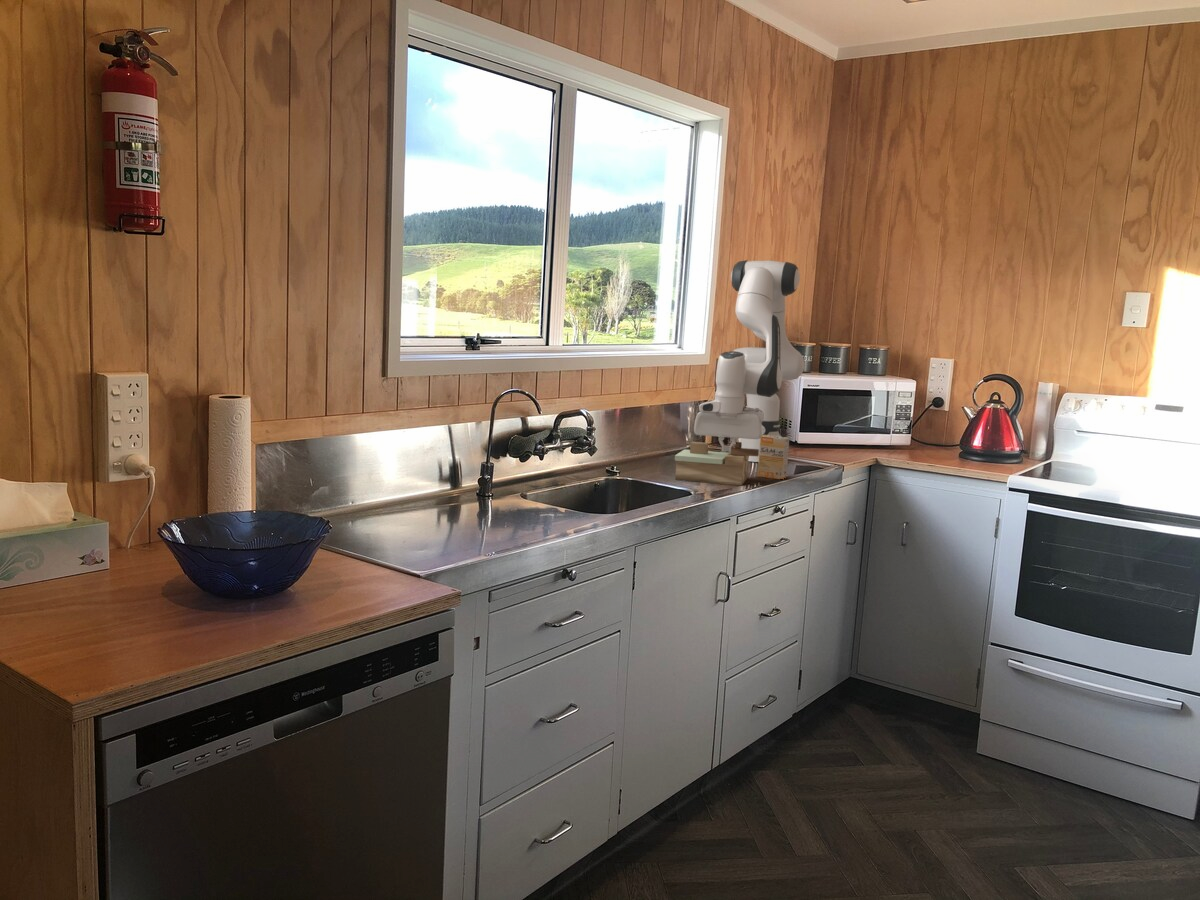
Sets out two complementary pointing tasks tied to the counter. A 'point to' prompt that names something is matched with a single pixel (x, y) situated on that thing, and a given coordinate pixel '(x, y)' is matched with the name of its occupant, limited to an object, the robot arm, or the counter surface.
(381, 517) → the counter surface
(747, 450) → the brown stepped wooden block
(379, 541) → the counter surface
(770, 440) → the supplement box
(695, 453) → the lid
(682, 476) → the toolbox
